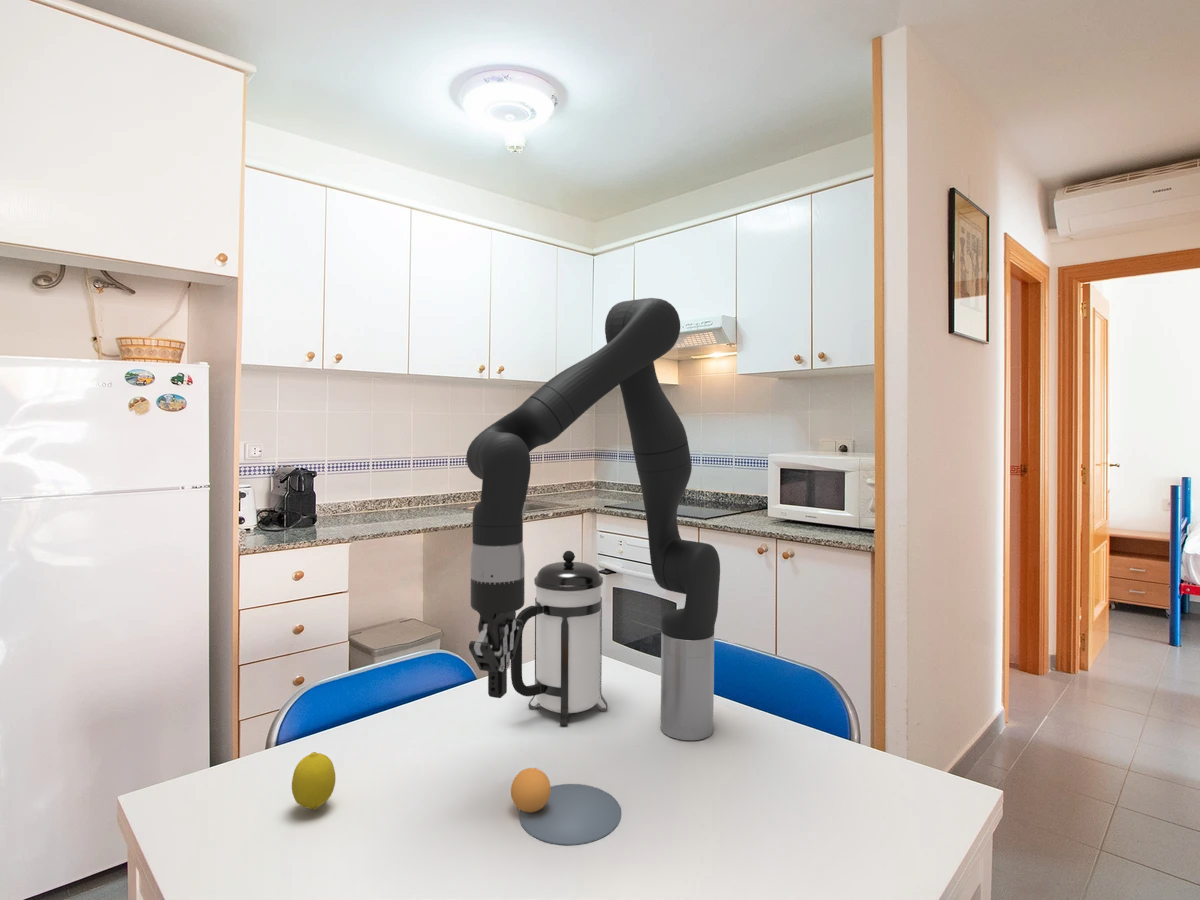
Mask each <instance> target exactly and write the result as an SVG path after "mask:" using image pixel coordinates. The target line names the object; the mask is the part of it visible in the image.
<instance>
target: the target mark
mask: <svg viewBox="0 0 1200 900" xmlns="http://www.w3.org/2000/svg"><path fill="white" fill-rule="evenodd" d="M550 787H551V792H550V797H549V799H548V801H547V803H546V804H545V806H544V807H543V808H542V809H540V810H538V811H536V812H532V813H528V812H524V811H521V810H520V809H519V812H518V820H519V822H520V826H521V827H522V828H523V829H524V831H525V832H526V833H527V834H529V836H532V838H534V839H537V840H539V841H542V842H544V843H548V844H553V845H559V846H560V845H561V846H577V845H585V844H589V843H593V842H596V841H598V840H601V839H602V838H605V837H606V836H608V835H610V834H611V833H612V832H613V831H615V829H616V828H617V827H618V825H619V824H620V821H621V818H622V809H621V806H620V804H619V802H618V801H617V799H616V798H615V797H614V796H613V795H612V794H610V793H609V792H608V791H605V790H603V789H601V788H598V787H595V786H592V785H588V784H579V783H565V784H564V783H563V784H556V785H552V786H551V785H550Z"/></svg>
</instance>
